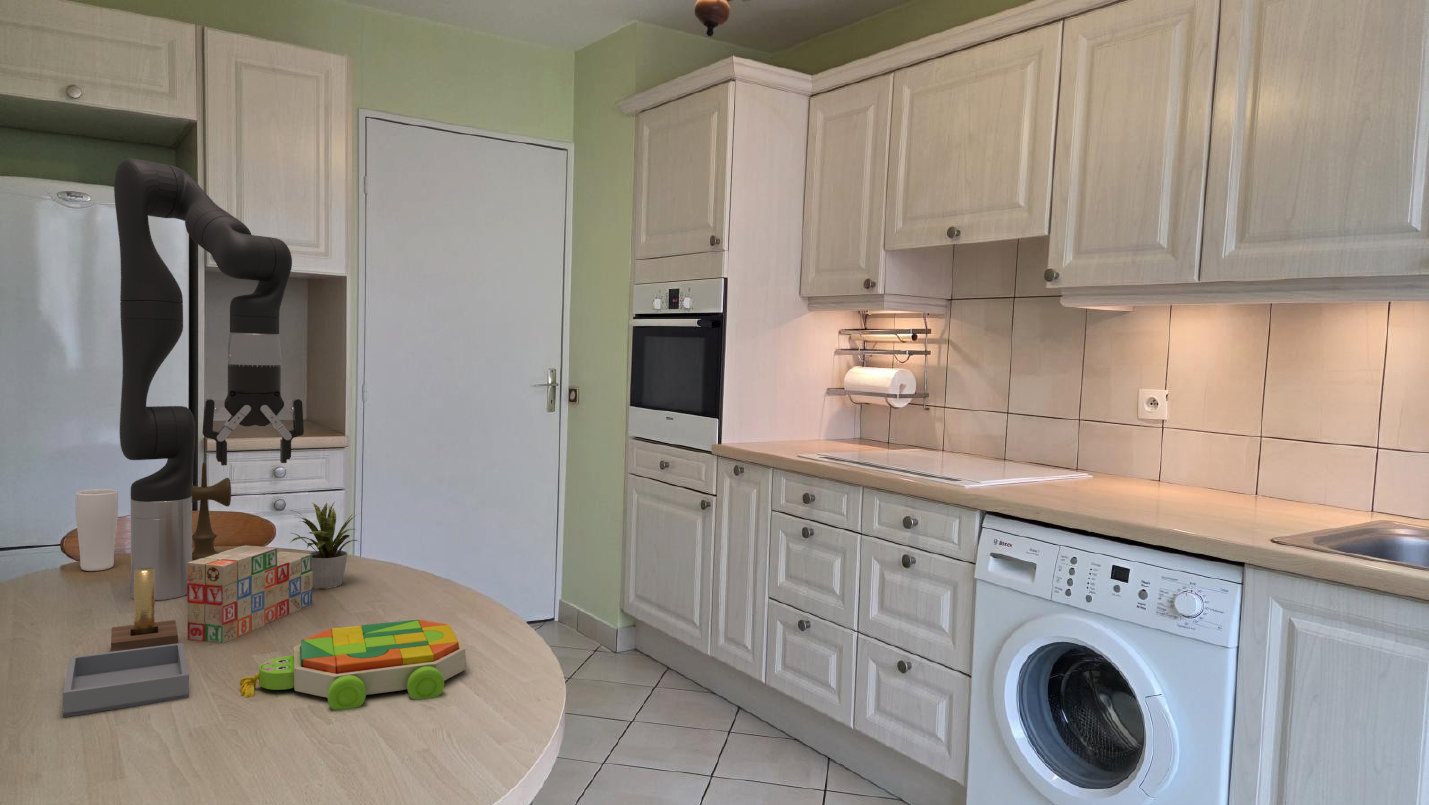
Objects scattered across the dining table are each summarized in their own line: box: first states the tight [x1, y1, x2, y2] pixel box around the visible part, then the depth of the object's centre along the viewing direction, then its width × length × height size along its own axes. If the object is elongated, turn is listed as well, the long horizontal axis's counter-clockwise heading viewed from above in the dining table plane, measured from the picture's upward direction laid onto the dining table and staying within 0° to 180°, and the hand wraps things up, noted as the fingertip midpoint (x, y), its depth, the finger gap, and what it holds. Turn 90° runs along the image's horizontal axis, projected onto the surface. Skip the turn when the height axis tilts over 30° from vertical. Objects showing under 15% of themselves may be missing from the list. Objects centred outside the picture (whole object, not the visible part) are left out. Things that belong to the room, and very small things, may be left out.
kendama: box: [192, 461, 232, 561], centre depth 184 cm, size 6×10×20 cm, turn 123°
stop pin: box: [133, 568, 156, 636], centre depth 131 cm, size 2×2×12 cm
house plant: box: [282, 502, 362, 589], centre depth 168 cm, size 14×14×16 cm
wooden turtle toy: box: [239, 619, 466, 711], centre depth 123 cm, size 22×28×6 cm
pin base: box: [110, 619, 179, 652], centre depth 131 cm, size 8×8×3 cm
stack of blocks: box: [186, 544, 313, 644], centre depth 146 cm, size 21×6×12 cm, turn 169°
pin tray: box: [62, 642, 190, 718], centre depth 118 cm, size 14×13×3 cm
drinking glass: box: [75, 488, 119, 572], centre depth 175 cm, size 7×7×15 cm
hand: (253, 463), depth 145 cm, fingers open, 8 cm apart
